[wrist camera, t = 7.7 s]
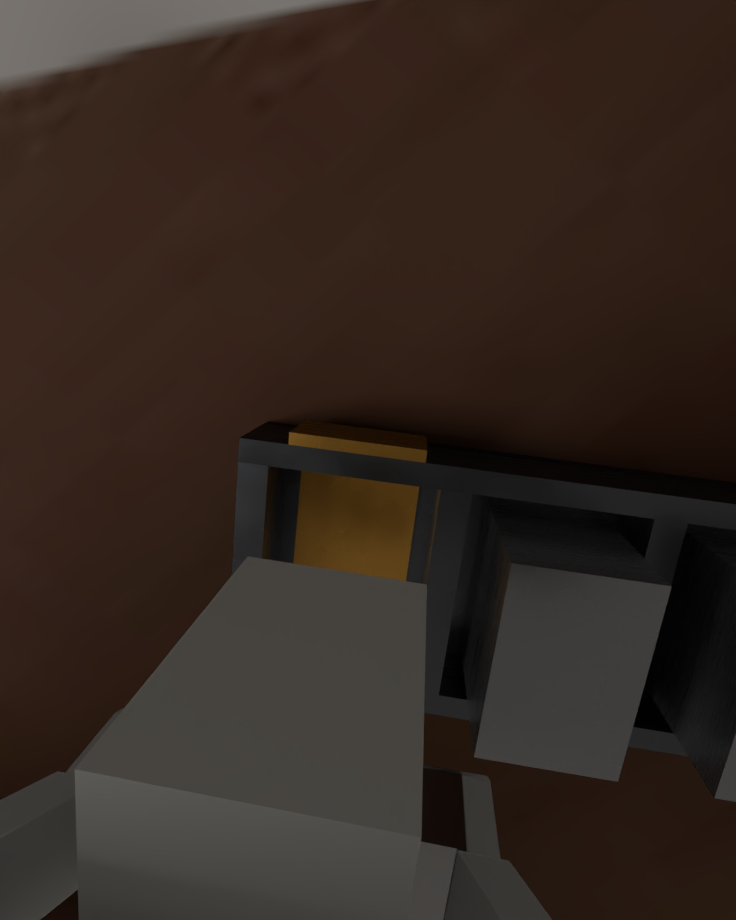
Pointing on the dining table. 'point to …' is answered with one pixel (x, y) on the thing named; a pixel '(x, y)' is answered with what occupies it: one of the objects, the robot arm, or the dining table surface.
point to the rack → (525, 586)
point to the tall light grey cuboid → (266, 759)
